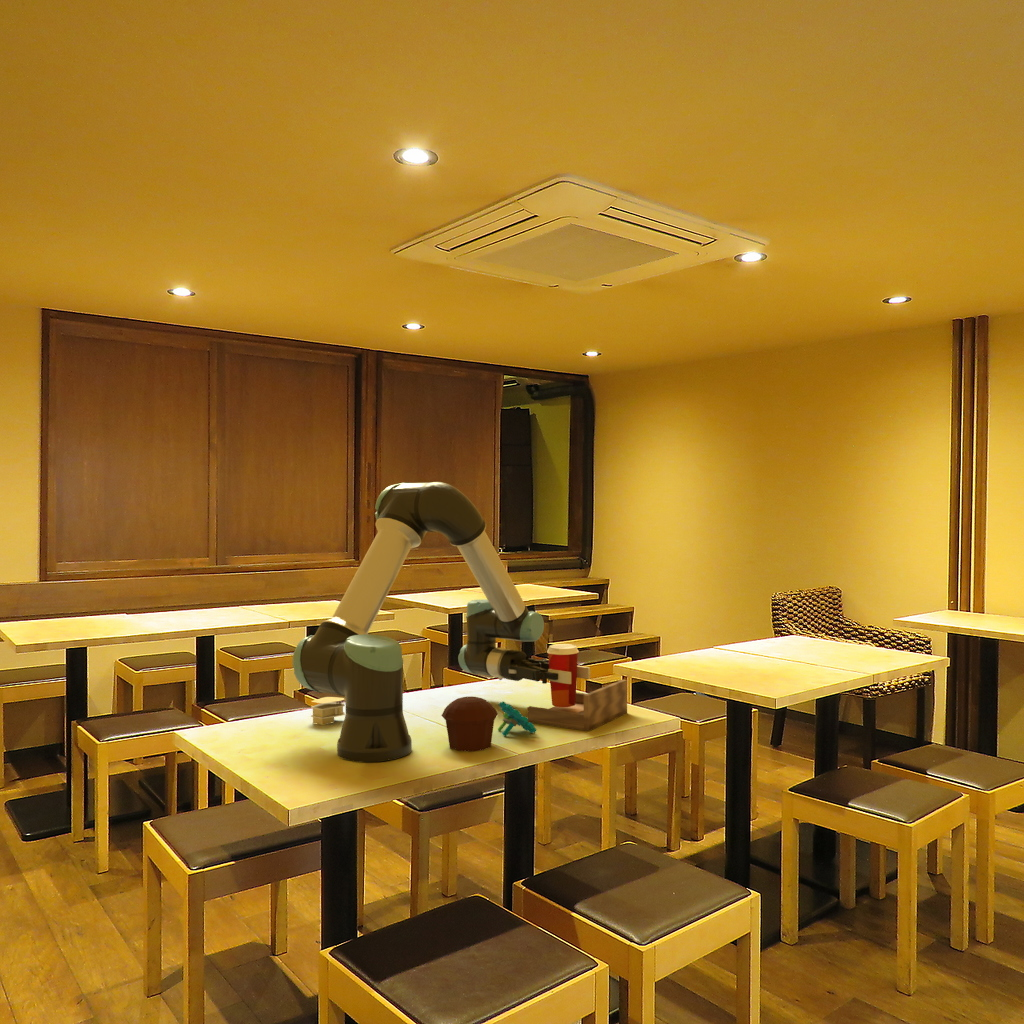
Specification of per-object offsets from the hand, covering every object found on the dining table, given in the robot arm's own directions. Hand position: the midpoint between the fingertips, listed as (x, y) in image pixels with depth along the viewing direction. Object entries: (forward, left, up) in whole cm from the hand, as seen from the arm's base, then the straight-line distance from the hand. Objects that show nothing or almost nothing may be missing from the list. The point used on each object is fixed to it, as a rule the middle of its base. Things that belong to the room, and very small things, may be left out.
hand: (579, 675), depth 202 cm
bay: (+1, +1, -10) cm, 10 cm away
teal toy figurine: (-19, +6, -10) cm, 22 cm away
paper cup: (+1, +5, -8) cm, 9 cm away
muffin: (-32, +9, -10) cm, 35 cm away
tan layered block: (-33, +49, -11) cm, 60 cm away
